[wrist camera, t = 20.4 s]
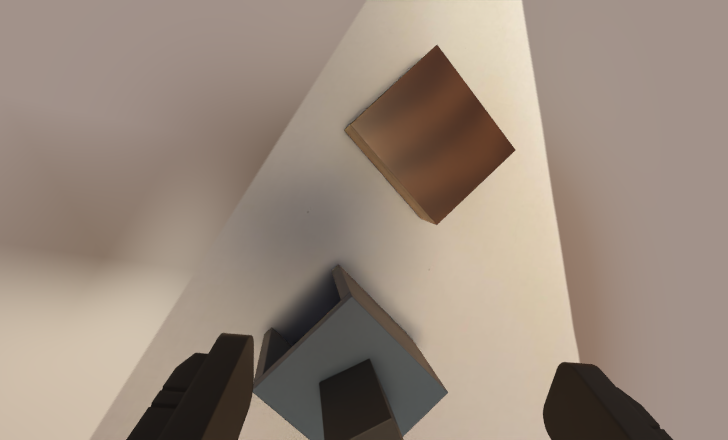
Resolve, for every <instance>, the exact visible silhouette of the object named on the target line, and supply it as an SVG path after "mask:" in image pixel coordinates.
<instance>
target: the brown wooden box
mask: <svg viewBox="0 0 728 440" xmlns="http://www.w3.org/2000/svg"><path fill="white" fill-rule="evenodd" d="M344 131H345V132H346V133H347V134H348V135H349V136H350V138H351V139H352V140H353V141H354V142H355V143H356V145H357V146H358V147H359V148H360V149H361V150H362V151H363V153H364V154H365V155H366V156H367V157H368V158H369V159H370V161H371V162H372V163H373V164H374V165H375V166H376V168H377V169H378V170H379V171H380V172H381V173H382V174H383V176H384V177H385V178H386V179H387V180H388V181H389V182H390V184H391V185H392V186H393V187H394V188H395V189H396V191H397V192H398V193H399V194H400V195H401V196H402V197H403V199H404V200H405V201H406V202H407V203H408V204H409V205H410V207H411V208H412V209H413V210H414V211H415V212H416V214H417V215H418V216H419V217H420V218H421V219H423V220H425V221H428V222H431V223H433V224H436V225H437V224H438V223H439V222H440V221H441V220H443V219H444V218H445V217H446V216H447V215H448V214H449V213H450V212H451V211H452V210H453V209H454V208H455V207H456V206H457V205H458V204H459V203H460V202H461V201H463V200H464V199H465V198H466V197H467V196H468V195H469V194H470V193H471V192H472V191H473V190H474V189H475V188H476V187H477V186H478V185H479V184H480V183H482V182H483V181H484V180H485V179H486V178H487V177H488V176H489V175H490V174H491V173H492V172H493V171H494V170H495V169H496V168H497V167H498V166H499V165H500V164H502V163H503V162H504V161H505V160H506V159H507V158H508V157H509V156H510V155H511V154H512V153H513V152H514V151H515V149H514V147H513V146H512V145H511V143H510V142H509V141H508V139H507V138H506V137H505V135H504V134H503V133H502V131H501V130H500V129H499V127H498V126H497V125H496V123H495V122H494V121H493V119H492V118H491V116H490V115H489V114H488V112H487V111H486V110H485V108H484V107H483V106H482V104H481V103H480V102H479V100H478V99H477V98H476V96H475V95H474V94H473V92H472V91H471V90H470V88H469V87H468V86H467V84H466V83H465V82H464V80H463V79H462V77H461V76H460V75H459V73H458V72H457V71H456V69H455V68H454V67H453V65H452V64H451V63H450V61H449V60H448V59H447V57H446V56H445V55H444V53H443V52H442V51H441V49H440V48H439V47H438V45H436V46H435V47H434V48H433V49H432V50H431V51H429V52H428V53H427V54H426V55H425V56H424V57H423V58H422V59H421V60H420V61H419V62H418V63H416V64H415V65H414V66H413V67H412V68H411V69H410V70H409V71H408V72H407V73H406V74H404V75H403V76H402V77H401V78H400V79H399V80H398V81H397V82H396V83H395V84H394V85H393V86H391V87H390V88H389V89H388V90H387V91H386V92H385V93H384V94H383V95H382V96H381V97H379V98H378V99H377V100H376V101H375V102H374V103H373V104H372V105H371V106H370V107H369V108H367V109H366V110H365V111H364V112H363V113H362V114H361V115H360V116H359V117H358V118H357V119H356V120H354V121H353V122H352V123H351V124H350V125H349V126H348V127H347V128H346V129H345V130H344Z"/></svg>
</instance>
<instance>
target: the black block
mask: <svg viewBox="0 0 728 440" xmlns="http://www.w3.org/2000/svg"><path fill="white" fill-rule="evenodd" d="M319 387H320V398H321V409H322V420H323V431H324V440H403V437H402V434H401V432H400V429H399V427H398V424H397V422H396V419H395V416H394V414H393V411H392V409H391V406H390V403H389V401H388V399H387V396H386V394H385V392H384V390H383V387H382V385H381V383H380V381H379V378H378V376H377V374H376V372H375V369H374V367H373V365H372V362H371V360H370V359H367V360H365V361H363V362H361V363H359V364H357V365H355V366H353V367H351V368H348V369H346V370H344V371H342V372H340V373H338V374H336V375H334V376H332V377H330V378H328V379H326V380H324V381H322V382H320V383H319Z"/></svg>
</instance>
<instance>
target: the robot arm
mask: <svg viewBox="0 0 728 440" xmlns="http://www.w3.org/2000/svg"><path fill="white" fill-rule="evenodd" d="M253 380H254V340H253V336H252V335H240V334H228V333H222V334H221V335H220V336H219V337H218V339H217V340H216V342H215V344H214V345H213V347H212V349H211V350H210V352H209V354H203V353H194V354H193V355H192V356H191V357H189V358H188V359H187V360H185V361H184V362H183V363H181V364H180V365H179V366H177V367H176V368H175V370H174V371H173V373H172V374H171V376H170V377H169V378H168V380H167V381H166V383H165V384H164V386H163V389H162V391H161V390H160V391H159V393H158V394H157V396H156V397H155V399H154V400H153V402H152V405H151V407H148V409H147V410H146V412H145V413H144V415H143V416H142V418H141V419H140V421H139V422H138V423H137V425H136V426H135V428H134V429H133V431H132V432H131V434H130V435H129V437H128V438H127V439H126V440H238V437H239V435H240V432H241V429H242V426H243V424H244V421H245V418H246V415H247V412H248V410H249V406H250V402H251V398H252V392H253ZM543 419H544V424H545V428H546V430H547V433H548V435H549V436H550V438H551V440H673V439H672V438H671V437H670V436H669V435H668V434H667V433H666V432H665V430H664V429H660V425H659V424H658V423H657V422H656V421H655V420H654V419H653V417H652V416H651V415H650V414H649V413H648V412H647V411H646V410H645V409H644V408H643V406H642V405H641V404H639V403H638V402H636V401H635V400H634V399H632V398H631V397H630V396H628V395H627V394H626V393H624V392H623V391H622V390H620V389H619V388H617V387H615V385H614V384H613V383H612V382H611V381H610V380H609V379H608V377H606V375H605V374H604V373H603V372H602V371H601V370H600V369H599V368H598V367H597V366H595V365H592V364H582V363H570V362H563V363H561V364H560V365H559V366H558V368H557V370H556V373H555V376H554V379H553V382H552V384H551V387H550V390H549V393H548V396H547V399H546V401H545V404H544V408H543Z"/></svg>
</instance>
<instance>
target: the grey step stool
mask: <svg viewBox="0 0 728 440" xmlns="http://www.w3.org/2000/svg"><path fill="white" fill-rule="evenodd" d="M332 274H333V277H334V280H335V283H336V287H337V290H338V293H339V296H340V299H341V301H340V302H339V303H338V304H337V305H336V306H335V307H334V308H333V309H332V310H331V311H330V312H328V313H327V314H326V315H325V316H324V317H323V318H322V319H321V320H320V321H319V322H318V323H317V324H316V325H315V326H314V327H313V328H312V329H310V330H309V331H308V332H307V333H306V334H305V335H304V336H303V337H302V338H301V339H300V340H299V341H298V342H297V343H296V344H295V345H294V346H293V347H292V346H291V345H290V344H289V343H288V342H287V341H286V340H284V339H283V338H282V337H281V336H280V335H279V334H278V333H277V332H276V331H275V330H273V329H272V328H271V329H269V330H268V331H267V332H266V333H265V334H264V338H263V342H262V347H261V351H260V356H259V360H258V365H257V369H256V374H255V378H254V384H253V393H254V394H255V395H257V396H258V397H259V398H260V399H261V400H263V401H264V402H265V403H266V404H267V405H269V406H270V407H271V408H272V409H273V410H275V411H276V412H277V413H278V414H279V415H281V416H282V417H283V418H284V419H285V420H286V421H288V422H289V423H290V424H291V425H292V426H294V427H295V428H296V429H297V430H298V431H300V432H301V433H302V434H303V435H304V436H306V437H307V438H308V439H309V440H324V431H323V420H322V409H321V398H320V387H319V383H320V382H322V381H324V380H326V379H328V378H330V377H332V376H334V375H336V374H338V373H340V372H342V371H344V370H346V369H348V368H351V367H353V366H355V365H357V364H359V363H361V362H363V361H365V360H367V359H370V360H371V362H372V365H373V367H374V369H375V372H376V374H377V376H378V378H379V381H380V383H381V385H382V387H383V390H384V392H385V394H386V396H387V399H388V401H389V403H390V406H391V409H392V411H393V414H394V416H395V419H396V422H397V424H398V427H399V429H400V432H401V434H402V437H403V436H404V435H405V434H406V433H407V432H408V431H409V430H410V429H411V428H412V427H413V426H414V425H415V424H416V423H417V422H419V421H420V420H421V419H422V418H423V417H424V416H425V415H426V414H427V413H428V412H429V411H430V410H431V409H432V408H433V407H434V406H435V405H436V404H437V403H438V402H439V401H440V400H441V399H442V398H443V397H444V396H445V395H446V394H447V393H448V392H447V390H446V389H445V387H444V386H443V384H442V383H441V381H440V380H439V378H438V377H437V375H436V374H435V372H434V371H433V369H432V368H431V366H430V365H429V363H428V362H427V360H426V359H425V357H424V356H423V354H422V353H421V351H420V350H419V348H418V347H417V346H416V344H415V343H414V341H413V340H412V339H411V338H410V337H409V336H408V335H407V334H406V332H405V331H404V330H403V329H402V328H401V327H400V326H399V325H398V324H397V323H396V322H395V321H394V320H393V319H392V318H391V317H390V316H389V315H388V314H387V313H386V312H385V311H384V310H383V309H382V308H381V307H380V306H379V305H378V304H377V303H376V302H375V301H374V300H373V299H372V298H371V297H370V296H369V295H368V294H367V293H366V292H365V291H364V290H363V289H362V288H361V287H360V286H359V285H358V284H357V282H356V281H355V280H354V279H353V278H352V277H351V276H350V275H349V274H348V273H347V272H346V271H345V270H344V269H343V268H342V267H341V266H340V265H338V266H336V267H335V268H334V269H333V270H332Z"/></svg>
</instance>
